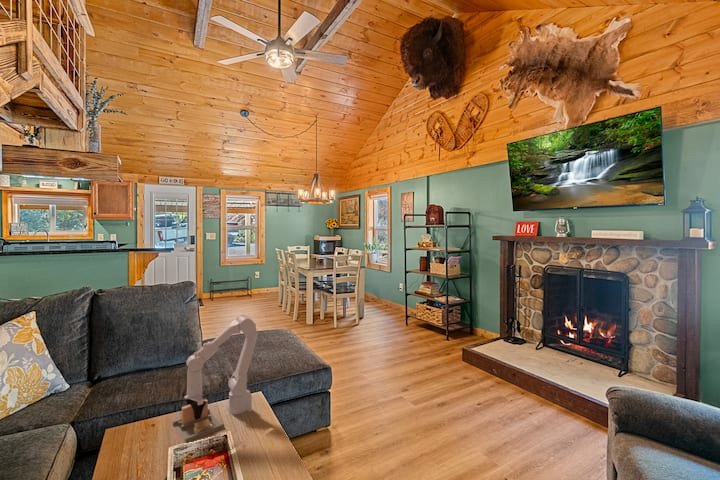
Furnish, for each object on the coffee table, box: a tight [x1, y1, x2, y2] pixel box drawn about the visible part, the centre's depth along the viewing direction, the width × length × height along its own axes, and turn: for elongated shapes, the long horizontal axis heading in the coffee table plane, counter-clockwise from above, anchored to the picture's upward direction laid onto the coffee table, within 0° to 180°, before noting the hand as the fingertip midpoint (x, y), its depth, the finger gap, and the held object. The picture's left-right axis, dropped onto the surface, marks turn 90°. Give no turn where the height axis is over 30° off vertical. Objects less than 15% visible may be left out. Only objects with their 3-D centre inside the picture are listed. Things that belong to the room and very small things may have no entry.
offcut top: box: [195, 419, 210, 431], centre depth 139 cm, size 5×4×2 cm
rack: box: [172, 408, 225, 444], centre depth 142 cm, size 15×17×2 cm
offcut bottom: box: [194, 423, 213, 433], centre depth 139 cm, size 6×4×2 cm, turn 142°
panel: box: [181, 398, 209, 425], centre depth 145 cm, size 10×2×8 cm, turn 134°
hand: (194, 415), depth 145 cm, fingers open, 7 cm apart
